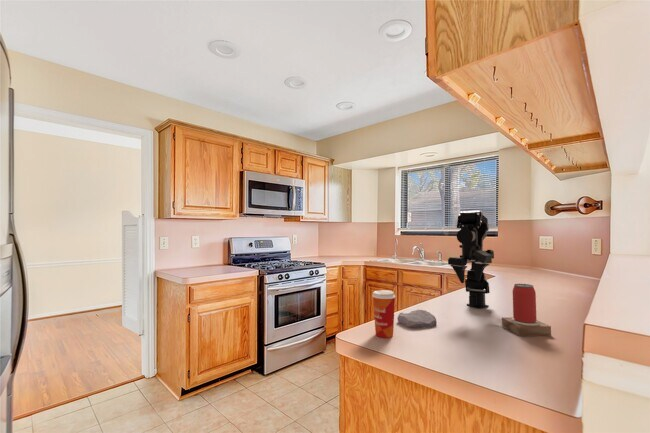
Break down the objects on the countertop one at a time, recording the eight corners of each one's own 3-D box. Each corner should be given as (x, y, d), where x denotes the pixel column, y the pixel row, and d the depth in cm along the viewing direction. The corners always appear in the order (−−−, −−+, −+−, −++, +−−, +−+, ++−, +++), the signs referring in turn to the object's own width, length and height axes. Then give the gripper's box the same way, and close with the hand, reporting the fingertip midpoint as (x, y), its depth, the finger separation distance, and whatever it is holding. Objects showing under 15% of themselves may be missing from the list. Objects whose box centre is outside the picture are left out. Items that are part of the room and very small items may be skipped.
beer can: (523, 324, 101) (522, 287, 101) (508, 318, 107) (507, 283, 108) (541, 323, 102) (540, 286, 102) (526, 317, 108) (524, 283, 109)
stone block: (439, 331, 111) (422, 317, 120) (440, 318, 110) (423, 306, 119) (411, 336, 107) (395, 322, 116) (412, 323, 106) (396, 310, 115)
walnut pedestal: (502, 326, 109) (501, 317, 109) (530, 325, 109) (530, 316, 110) (520, 336, 99) (519, 326, 99) (551, 335, 99) (550, 325, 100)
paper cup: (368, 333, 104) (367, 290, 104) (387, 329, 107) (387, 289, 107) (380, 340, 97) (380, 295, 97) (401, 337, 100) (400, 293, 100)
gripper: (470, 244, 113) (472, 287, 112) (503, 242, 121) (505, 283, 120) (446, 243, 123) (447, 283, 122) (478, 241, 131) (479, 279, 130)
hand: (470, 282), depth 124 cm, fingers open, 9 cm apart
